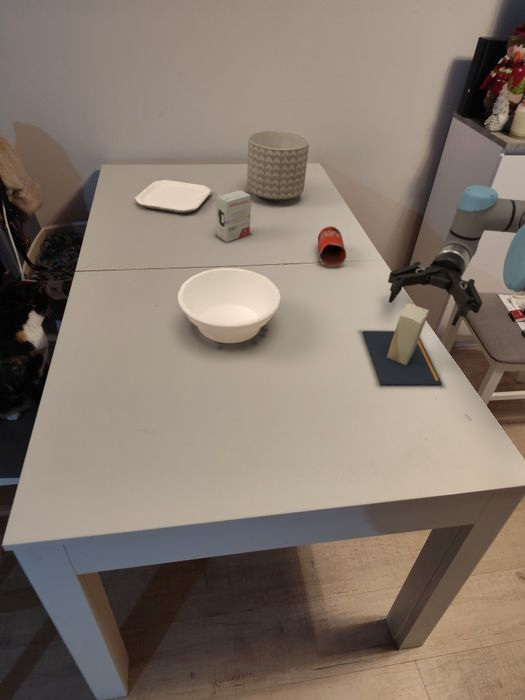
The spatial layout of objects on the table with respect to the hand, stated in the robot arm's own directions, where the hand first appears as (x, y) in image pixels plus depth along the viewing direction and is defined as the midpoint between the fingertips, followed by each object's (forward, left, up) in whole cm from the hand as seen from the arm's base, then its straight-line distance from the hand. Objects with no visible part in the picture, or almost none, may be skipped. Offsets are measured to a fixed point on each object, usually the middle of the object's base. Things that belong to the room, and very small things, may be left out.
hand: (422, 308), depth 92 cm
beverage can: (+34, +13, -7) cm, 37 cm away
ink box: (+45, +39, -7) cm, 60 cm away
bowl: (+3, +40, -7) cm, 41 cm away
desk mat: (-7, +5, -7) cm, 11 cm away
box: (-7, +5, -7) cm, 11 cm away
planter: (+74, +25, -7) cm, 78 cm away
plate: (+68, +58, -7) cm, 90 cm away
